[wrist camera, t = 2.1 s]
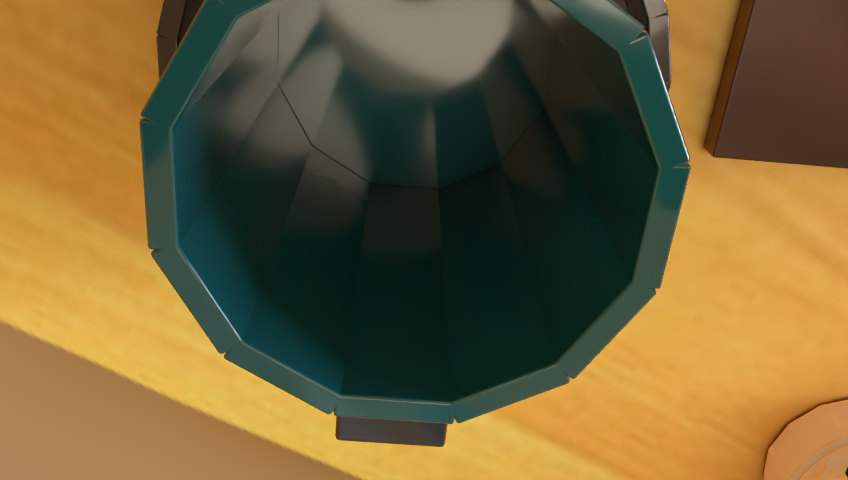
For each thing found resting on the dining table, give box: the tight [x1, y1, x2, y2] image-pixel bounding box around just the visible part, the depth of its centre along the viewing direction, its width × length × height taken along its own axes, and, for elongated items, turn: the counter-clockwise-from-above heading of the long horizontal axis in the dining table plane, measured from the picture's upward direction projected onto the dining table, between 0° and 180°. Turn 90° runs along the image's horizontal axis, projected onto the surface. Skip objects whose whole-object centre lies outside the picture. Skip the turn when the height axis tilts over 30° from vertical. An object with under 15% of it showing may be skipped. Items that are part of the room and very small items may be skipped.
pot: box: [139, 0, 691, 447], centre depth 20 cm, size 13×10×12 cm
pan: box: [157, 0, 671, 93], centre depth 24 cm, size 14×14×5 cm
